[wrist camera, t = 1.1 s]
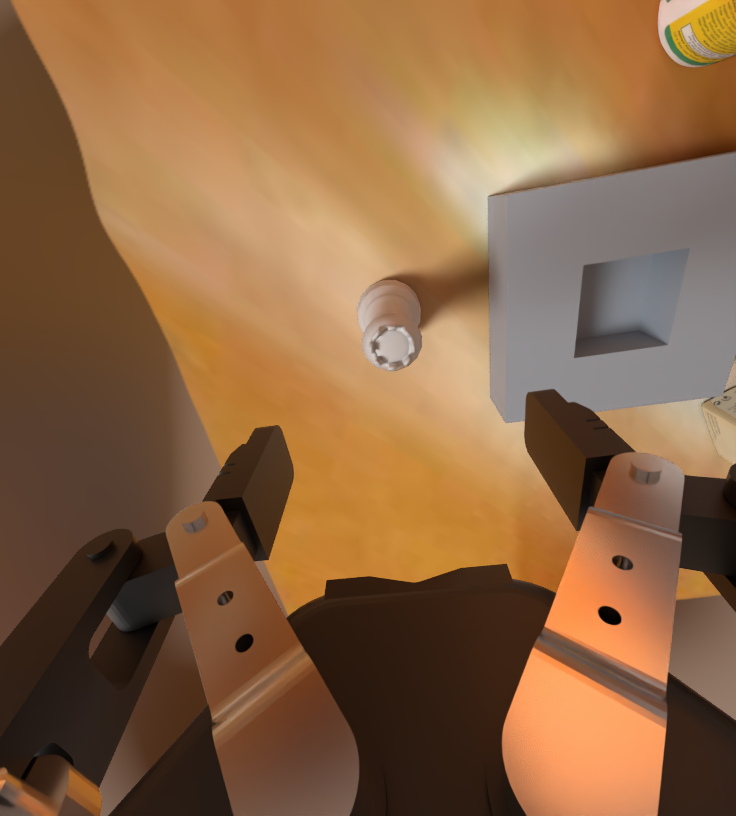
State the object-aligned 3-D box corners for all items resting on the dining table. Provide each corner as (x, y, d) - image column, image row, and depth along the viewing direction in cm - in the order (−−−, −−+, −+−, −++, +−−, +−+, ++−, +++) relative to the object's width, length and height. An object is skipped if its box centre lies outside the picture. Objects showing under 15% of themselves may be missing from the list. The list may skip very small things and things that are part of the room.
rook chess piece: (432, 317, 27) (451, 358, 20) (381, 352, 28) (382, 402, 21) (396, 264, 25) (404, 286, 18) (344, 303, 26) (332, 339, 19)
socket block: (487, 196, 23) (508, 194, 19) (734, 150, 22) (803, 140, 18) (490, 397, 29) (505, 423, 26) (679, 372, 28) (722, 395, 25)
